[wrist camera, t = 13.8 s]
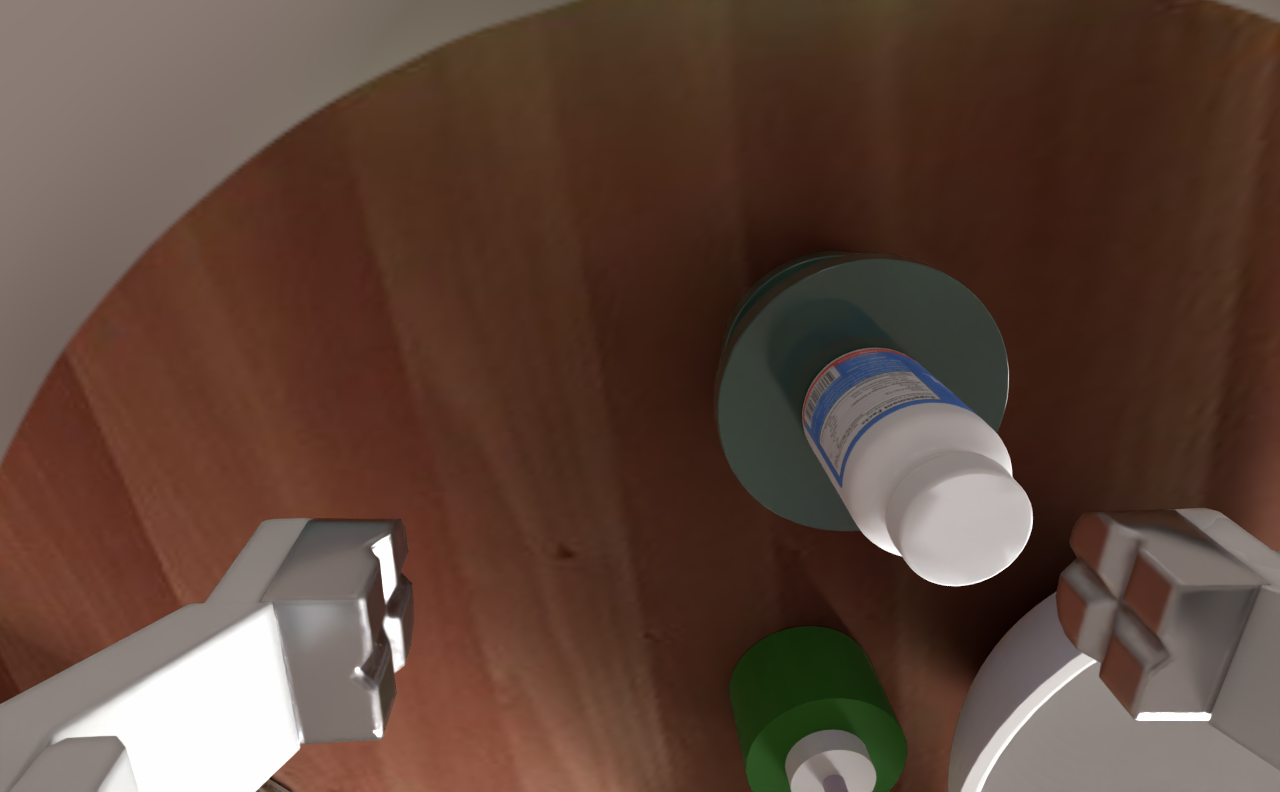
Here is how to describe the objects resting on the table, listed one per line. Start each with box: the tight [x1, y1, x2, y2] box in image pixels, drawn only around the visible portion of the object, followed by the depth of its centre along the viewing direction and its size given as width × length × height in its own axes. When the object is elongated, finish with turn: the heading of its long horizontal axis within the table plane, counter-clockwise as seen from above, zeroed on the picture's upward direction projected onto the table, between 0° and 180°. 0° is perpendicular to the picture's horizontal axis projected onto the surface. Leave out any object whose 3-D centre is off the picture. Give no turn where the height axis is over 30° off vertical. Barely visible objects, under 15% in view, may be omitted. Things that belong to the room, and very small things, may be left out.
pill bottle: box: [802, 348, 1033, 586], centre depth 28 cm, size 6×5×10 cm
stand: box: [714, 251, 1009, 531], centre depth 35 cm, size 12×12×6 cm
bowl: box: [948, 551, 1280, 792], centre depth 42 cm, size 27×27×10 cm
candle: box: [729, 626, 907, 792], centre depth 41 cm, size 8×8×10 cm
